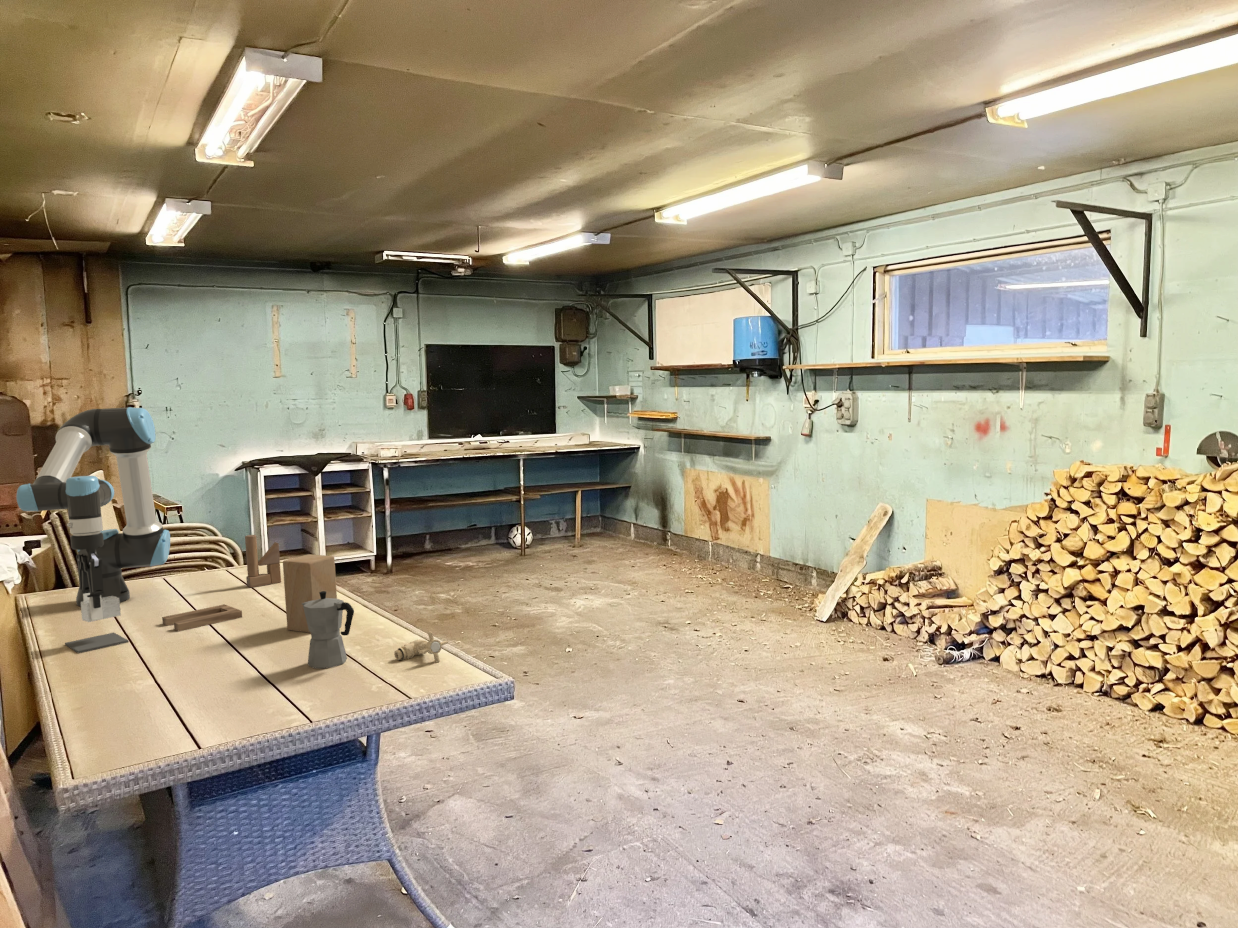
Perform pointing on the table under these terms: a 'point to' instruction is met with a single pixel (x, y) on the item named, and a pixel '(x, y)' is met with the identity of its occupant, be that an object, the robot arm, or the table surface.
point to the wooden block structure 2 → (268, 559)
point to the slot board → (202, 617)
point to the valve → (420, 648)
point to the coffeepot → (327, 630)
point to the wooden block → (306, 585)
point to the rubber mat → (96, 642)
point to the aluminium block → (108, 607)
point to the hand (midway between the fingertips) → (93, 617)
